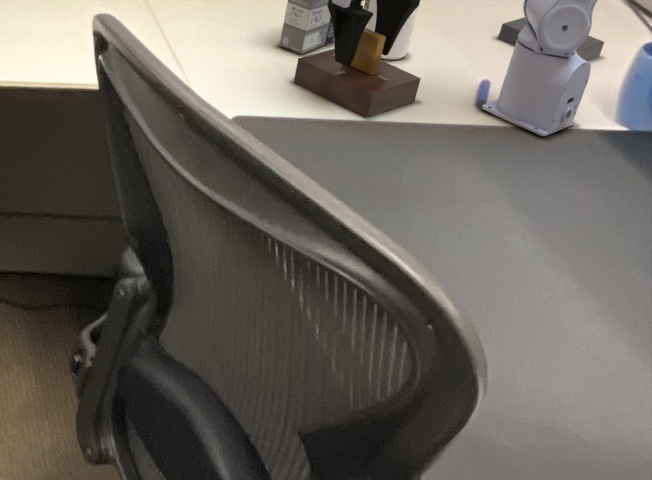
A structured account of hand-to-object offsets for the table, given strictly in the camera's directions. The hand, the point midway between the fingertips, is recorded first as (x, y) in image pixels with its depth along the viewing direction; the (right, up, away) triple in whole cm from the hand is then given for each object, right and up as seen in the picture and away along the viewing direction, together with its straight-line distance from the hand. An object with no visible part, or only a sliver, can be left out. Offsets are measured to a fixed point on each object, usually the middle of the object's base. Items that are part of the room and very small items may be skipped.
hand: (361, 57), depth 137 cm
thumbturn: (0, -1, +1) cm, 1 cm away
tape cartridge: (-5, +7, +14) cm, 16 cm away
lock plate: (-1, -3, +3) cm, 4 cm away
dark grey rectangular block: (+31, +11, +25) cm, 41 cm away
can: (+5, +7, +15) cm, 17 cm away
